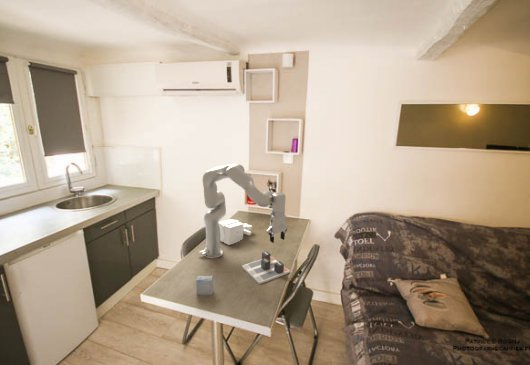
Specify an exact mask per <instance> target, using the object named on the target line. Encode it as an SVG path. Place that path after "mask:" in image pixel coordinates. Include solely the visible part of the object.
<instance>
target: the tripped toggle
mask: <svg viewBox="0 0 530 365" xmlns="http://www.w3.org/2000/svg"><path fill="white" fill-rule="evenodd" d="M260 260H261V259H260ZM261 268H262V269H264V270H267V269H270V260H268V259H267V258H266V259H263V260H261Z"/></svg>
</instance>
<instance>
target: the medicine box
mask: <svg viewBox="0 0 530 365" xmlns="http://www.w3.org/2000/svg"><path fill="white" fill-rule="evenodd" d="M195 283H196V284H195V287H196V295H197V296H211V295H213V291H214V276H213V275H198V276H197V278H196V280H195Z"/></svg>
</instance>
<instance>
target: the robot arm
mask: <svg viewBox="0 0 530 365" xmlns="http://www.w3.org/2000/svg"><path fill="white" fill-rule="evenodd" d="M227 178H228V179H230V180H231V181H232V182H234V183H235V184H236V185H238V186H239V187H240V188H242V189H243V190H244V192H245V194H246V195H247V197H248V198H249V199H250V200H251V201H252V202H254V204H257V205H258V206H259V207H262V208H265V207H268V206H269V205H270V204H272V208H271V209H272V211H271V213H270V215H271V216H270V221H269V227H268V228H267V229H266V230H265V232H266V233H267V234H268V235H269V241H270V242H271V243H272V244H274V243H275V237H274V236H275V234H277V233H280V239H281V240H283V241H284V240H285V234H286V233H287V231H288V228H289V227H290V226H289V225H288V224H287V215H286V194H285V193H283V192H275V191H271V190H265V191H263V192H261V191H260V190H259V189H258V188H257V187H256V186H255V182H254V179H253V177H252V176H250V175H248V174H247V172H245V167H244V165H242V164H240V163H233V164H226V165H219V166H216V167H213V168H211V169H208V170H207V171H205V172H204V174H203V176H202V185H203V186H202V187H203V196H204V198H203V199H204V204H205V208H207V209H209V210H208V211H206V213H205V214H204V216H203V221H204V226H205V247H204V249H203V250H200V251H199V252H198V253H199V255H202V256H204V257H205V258H206V259H219V258H220V257H222V255H223V254H224V251H223V250H222V249H221V241H220V226H219V222H221V220H222V219H224V218H225V217H226V212H227V211H226V210H227V209H226V207H227V205H226V197H225V194H224V193H223V192H222V191H221V190H218V187H217V186H218V185H217V182H219V181H221V180H224V179H227Z"/></svg>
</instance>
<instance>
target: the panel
mask: <svg viewBox="0 0 530 365" xmlns="http://www.w3.org/2000/svg"><path fill="white" fill-rule="evenodd" d="M266 258H267V259H268V260H270V269H267V270H264V269H262V268H261V260H263V259H266ZM241 268H242V269H243V270H244V271H245V272H246V273H247V274H248V275H249V276H250V277H251V278H252V279H253V280H254V281H255V282H256V283H257V284H258V285H261V284H263V283H266V282H269V281H273V280H274V279H277V278H279V277H282V276H284V275H288V274H290V272H291V271H290V269H288V268H286V267H285V263H283V262H281V261H278V260H276V259H275V258H274V257H272V256H271V253H270V252H269V251H267V250H266V251H264V252H261V259H258V260H255V261H252V262H248V263H246V264H242V265H241Z"/></svg>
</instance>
